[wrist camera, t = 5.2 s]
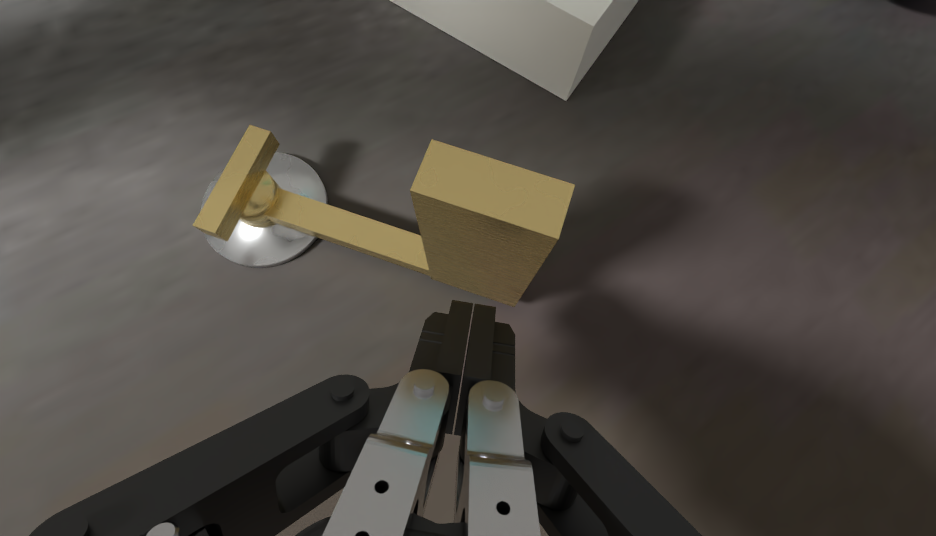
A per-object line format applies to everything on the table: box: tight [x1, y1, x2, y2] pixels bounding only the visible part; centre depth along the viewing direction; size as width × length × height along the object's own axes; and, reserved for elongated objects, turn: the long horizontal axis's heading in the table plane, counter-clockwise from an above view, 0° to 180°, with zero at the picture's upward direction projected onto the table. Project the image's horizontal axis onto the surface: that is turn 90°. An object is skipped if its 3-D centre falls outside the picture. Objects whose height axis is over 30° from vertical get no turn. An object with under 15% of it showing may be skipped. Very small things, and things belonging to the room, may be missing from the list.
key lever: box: [193, 125, 575, 307], centre depth 16 cm, size 14×5×9 cm, turn 71°
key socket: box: [201, 152, 328, 268], centre depth 21 cm, size 6×6×1 cm
